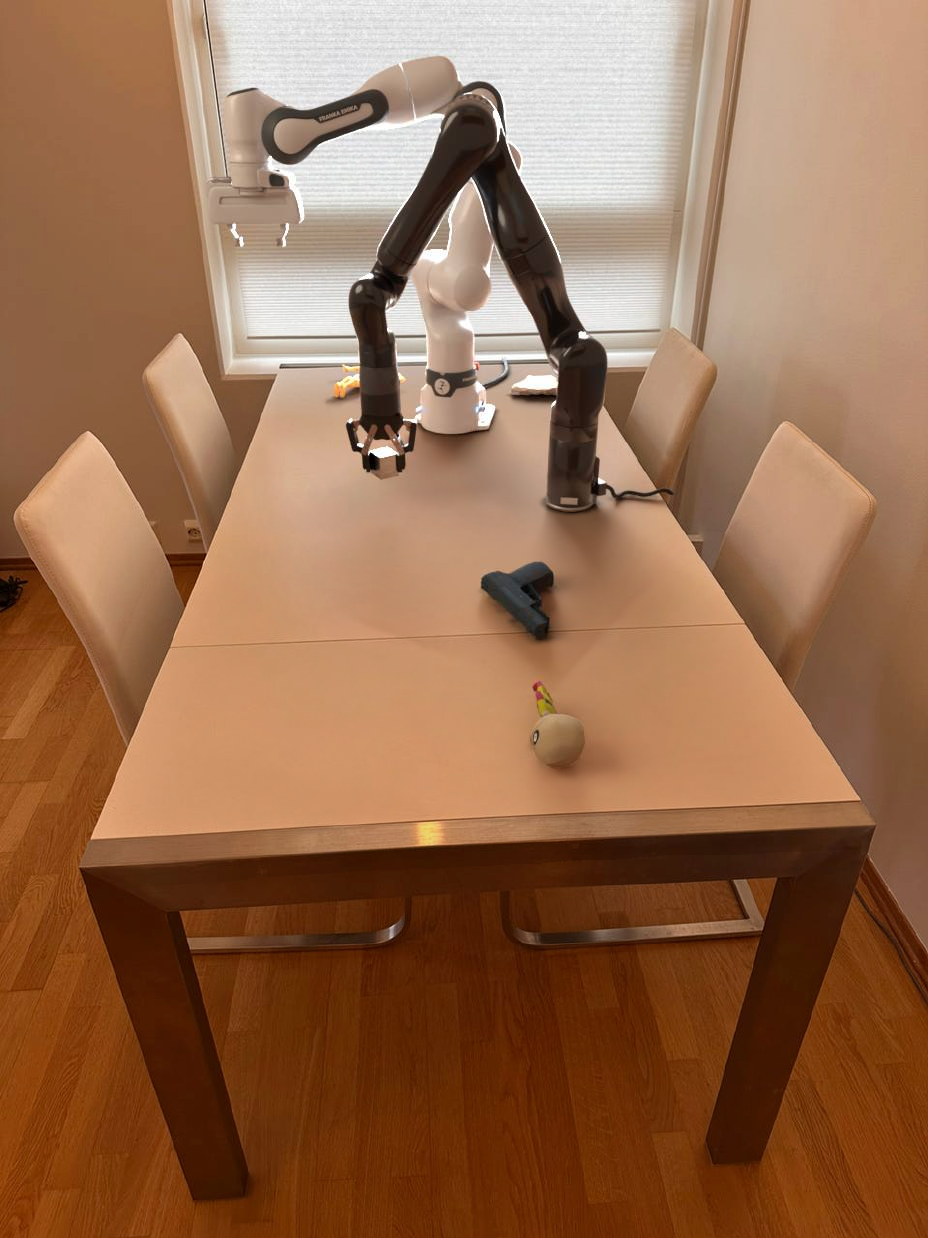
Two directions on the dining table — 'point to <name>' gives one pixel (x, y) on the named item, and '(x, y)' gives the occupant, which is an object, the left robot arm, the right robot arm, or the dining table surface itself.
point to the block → (384, 463)
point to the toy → (555, 733)
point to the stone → (536, 386)
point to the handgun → (522, 594)
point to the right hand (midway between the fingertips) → (384, 470)
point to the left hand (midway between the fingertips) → (260, 245)
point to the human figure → (351, 382)
